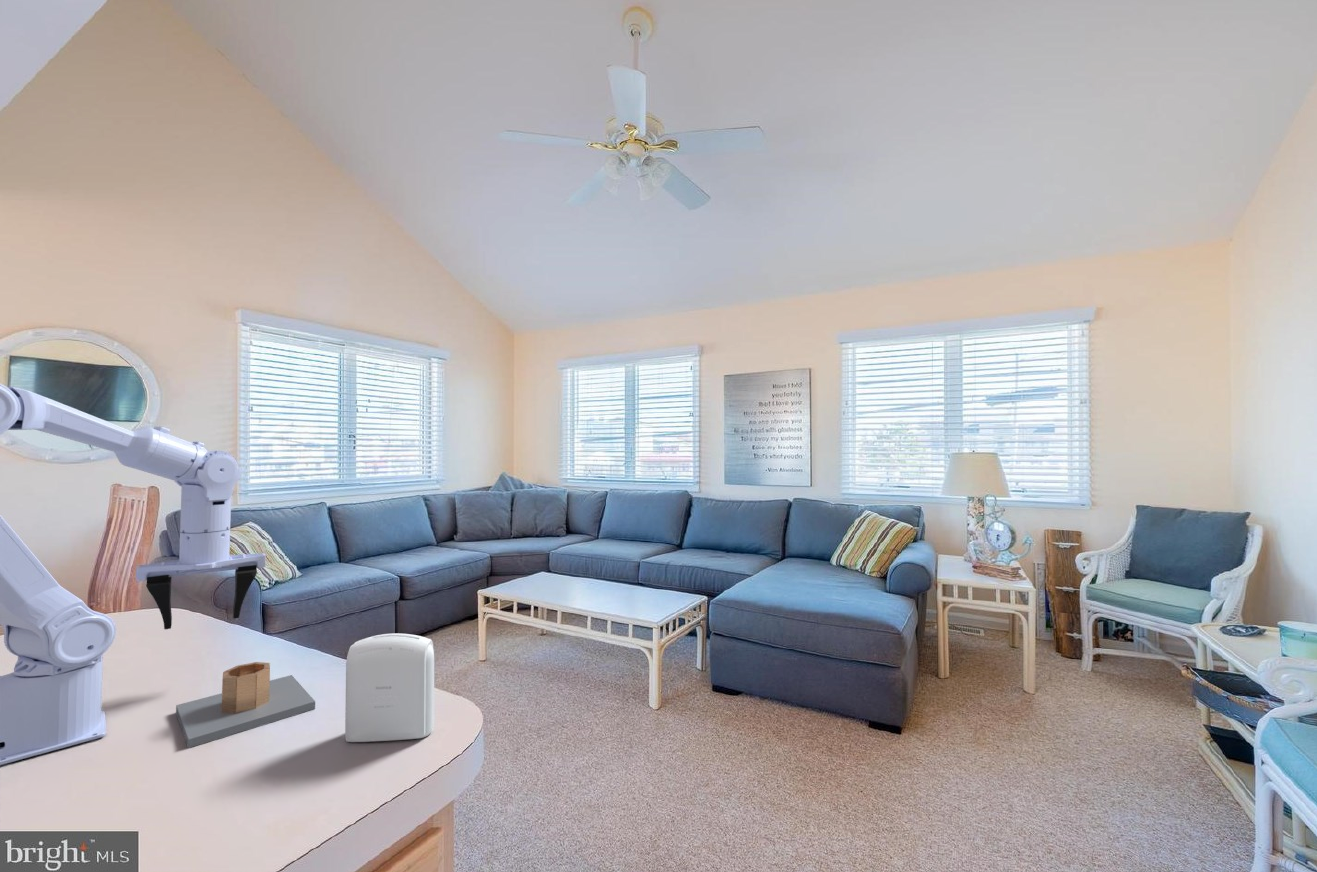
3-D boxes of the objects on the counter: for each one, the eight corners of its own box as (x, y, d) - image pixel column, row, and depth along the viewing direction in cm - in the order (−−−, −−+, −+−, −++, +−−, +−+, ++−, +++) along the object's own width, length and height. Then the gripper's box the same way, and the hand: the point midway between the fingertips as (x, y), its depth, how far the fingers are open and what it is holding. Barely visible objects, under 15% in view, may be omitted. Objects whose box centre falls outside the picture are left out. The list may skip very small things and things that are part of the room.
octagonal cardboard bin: (245, 714, 69) (246, 679, 69) (211, 711, 69) (212, 676, 69) (278, 696, 73) (278, 663, 74) (246, 693, 74) (246, 661, 74)
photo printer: (338, 746, 63) (340, 642, 64) (354, 727, 68) (357, 629, 68) (427, 742, 64) (429, 640, 65) (438, 723, 69) (440, 628, 69)
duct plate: (188, 747, 63) (189, 718, 63) (176, 712, 71) (176, 686, 71) (315, 708, 72) (315, 682, 72) (291, 681, 80) (292, 658, 80)
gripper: (135, 539, 71) (131, 640, 71) (268, 529, 81) (265, 618, 80) (139, 532, 77) (136, 626, 76) (264, 523, 86) (262, 607, 86)
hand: (203, 621), depth 79 cm, fingers open, 7 cm apart
